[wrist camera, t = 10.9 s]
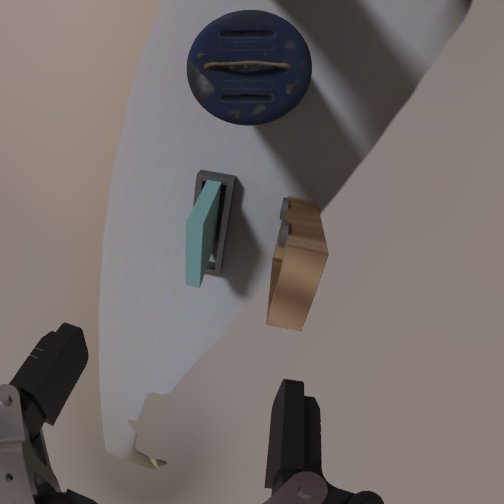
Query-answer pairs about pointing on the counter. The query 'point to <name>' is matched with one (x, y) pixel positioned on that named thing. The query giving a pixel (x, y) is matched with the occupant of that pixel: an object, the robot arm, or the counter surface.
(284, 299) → the cabinet
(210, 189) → the door panel
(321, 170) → the counter surface
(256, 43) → the canister
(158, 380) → the counter surface
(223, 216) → the grey rectangular frame
